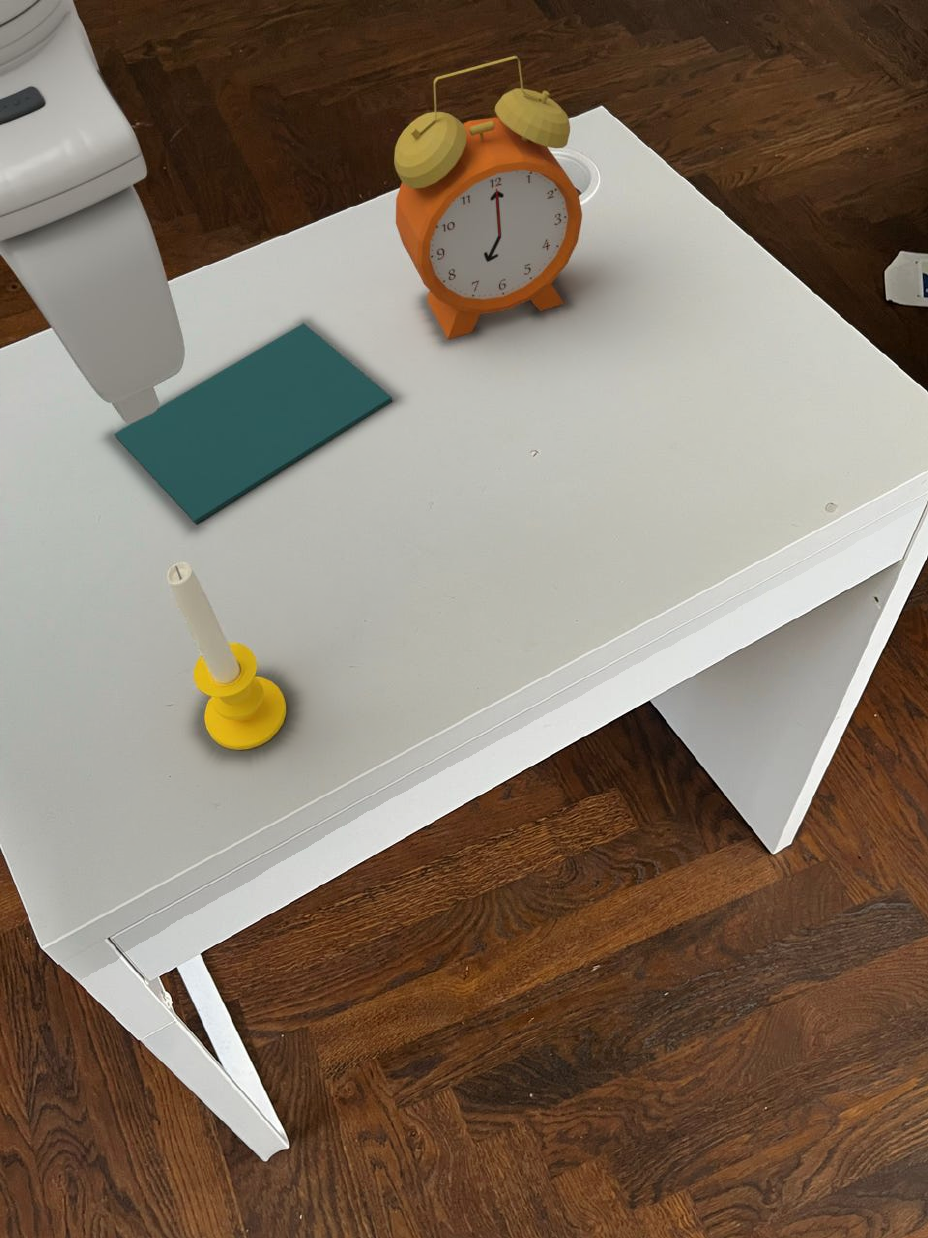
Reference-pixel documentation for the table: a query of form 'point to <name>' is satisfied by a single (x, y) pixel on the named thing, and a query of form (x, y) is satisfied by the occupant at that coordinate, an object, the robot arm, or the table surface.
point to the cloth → (251, 421)
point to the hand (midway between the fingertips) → (97, 352)
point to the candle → (226, 673)
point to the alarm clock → (487, 206)
